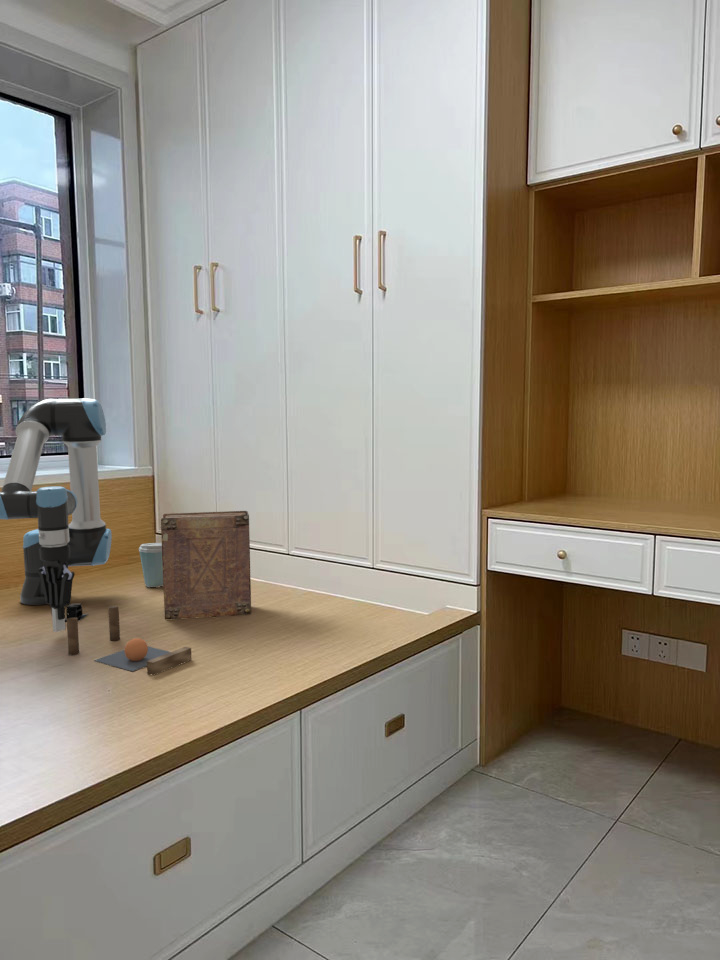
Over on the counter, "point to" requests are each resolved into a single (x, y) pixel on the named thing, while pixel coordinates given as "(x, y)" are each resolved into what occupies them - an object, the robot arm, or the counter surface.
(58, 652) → the counter surface
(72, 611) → the black boxy device
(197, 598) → the book
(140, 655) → the ball
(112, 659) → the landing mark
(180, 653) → the stopper wall
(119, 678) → the counter surface
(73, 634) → the outer post
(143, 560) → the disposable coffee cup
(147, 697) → the counter surface
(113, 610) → the inner post
